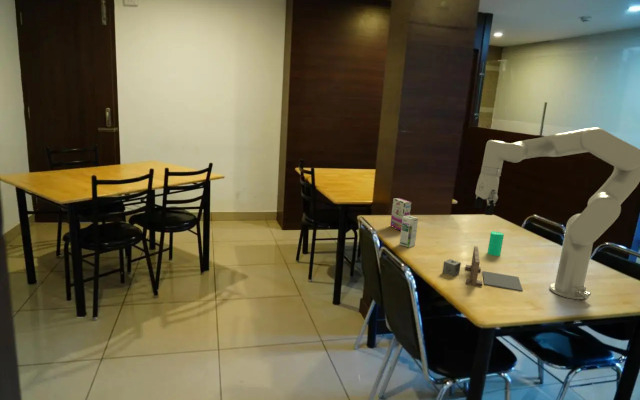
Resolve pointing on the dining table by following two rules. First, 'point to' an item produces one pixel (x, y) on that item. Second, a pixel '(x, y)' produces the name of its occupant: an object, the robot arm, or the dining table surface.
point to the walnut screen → (474, 269)
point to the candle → (495, 243)
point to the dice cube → (451, 267)
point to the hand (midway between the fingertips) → (483, 211)
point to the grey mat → (502, 281)
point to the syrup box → (408, 231)
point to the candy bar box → (399, 212)
